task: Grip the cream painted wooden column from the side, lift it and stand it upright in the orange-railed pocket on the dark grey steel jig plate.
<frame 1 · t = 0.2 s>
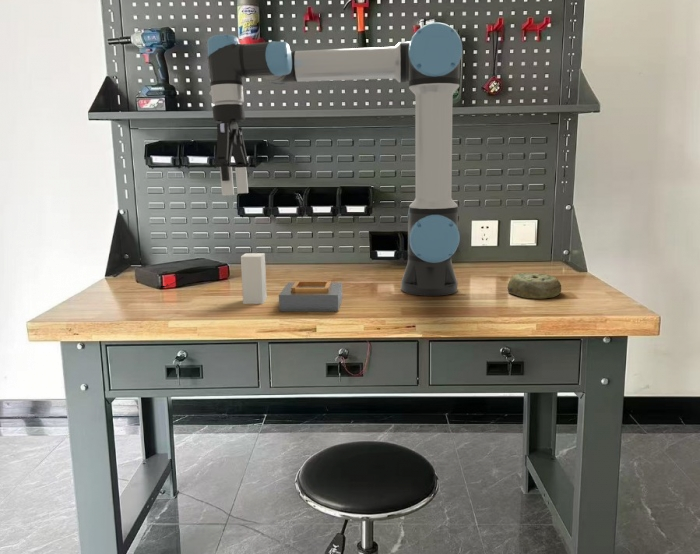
hand: (235, 194, 146), 27 cm above the table, tool pointing down, fingers open, 13 cm apart
column: (255, 301, 152), on the table
jig plate: (312, 304, 148), on the table
weight: (533, 295, 157), on the table
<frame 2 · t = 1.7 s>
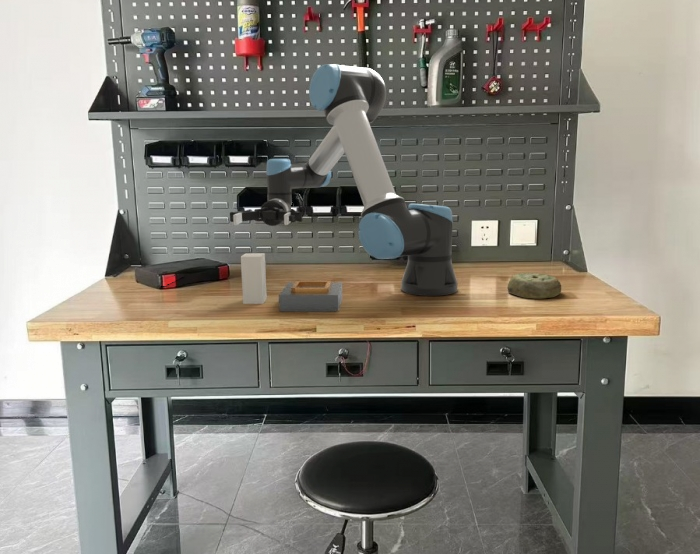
hand: (260, 220, 158), 20 cm above the table, tool horizontal, fingers open, 13 cm apart
nothing on the table moved.
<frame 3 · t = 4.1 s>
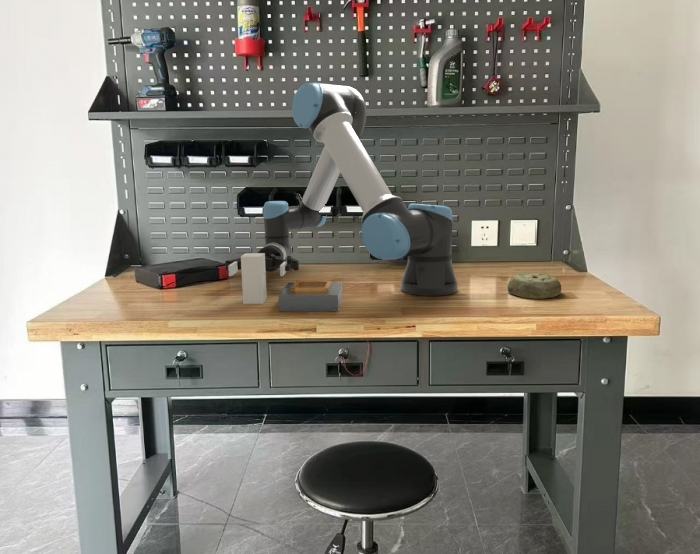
hand: (255, 270, 155), 7 cm above the table, tool horizontal, fingers open, 13 cm apart
nothing on the table moved.
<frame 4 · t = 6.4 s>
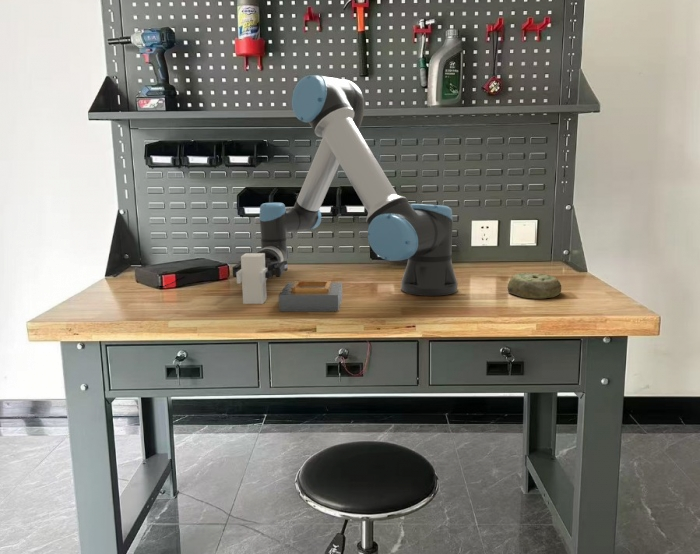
hand: (249, 278, 146), 7 cm above the table, tool horizontal, fingers closed on column, 5 cm apart
column: (255, 301, 152), on the table, touching gripper
everything else where it was.
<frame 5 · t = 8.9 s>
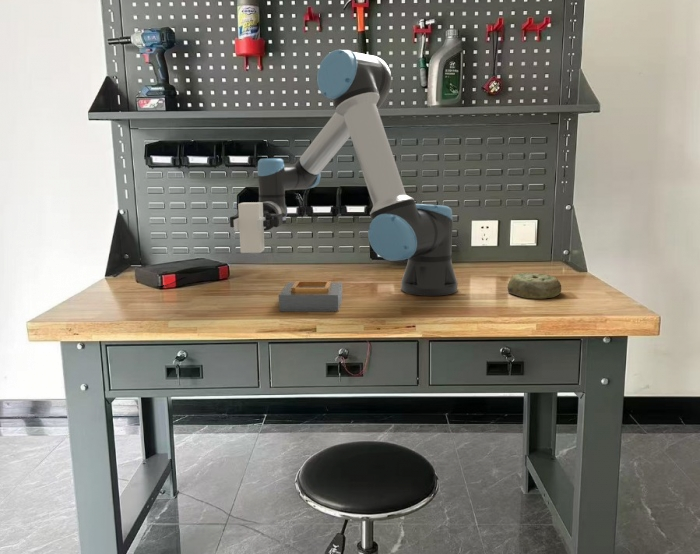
hand: (247, 225, 143), 20 cm above the table, tool horizontal, fingers closed on column, 5 cm apart
column: (252, 251, 149), point 13 cm above the table, touching gripper
everything else where it was.
when the fingers open (12 cm above the table, at t = 11.8 s): column drops 1 cm, resting on jig plate.
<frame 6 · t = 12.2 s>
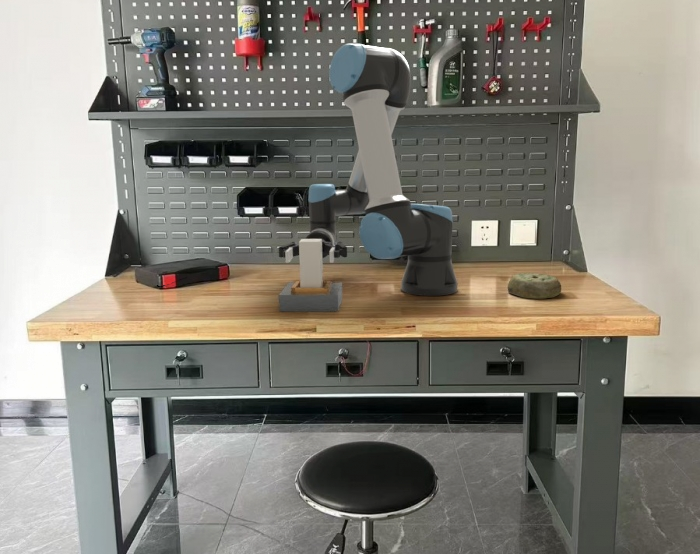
hand: (309, 257, 142), 12 cm above the table, tool horizontal, fingers open, 10 cm apart
column: (311, 288, 147), point 4 cm above the table, touching jig plate
everything else where it was.
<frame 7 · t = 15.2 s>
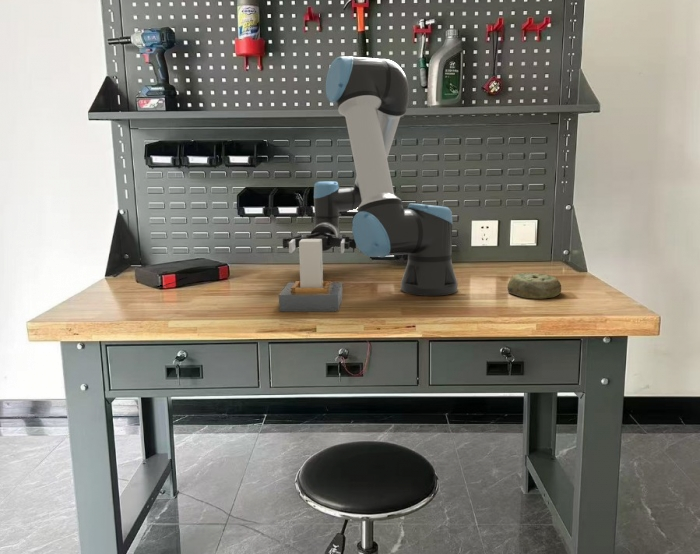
hand: (316, 247, 156), 12 cm above the table, tool horizontal, fingers open, 13 cm apart
nothing on the table moved.
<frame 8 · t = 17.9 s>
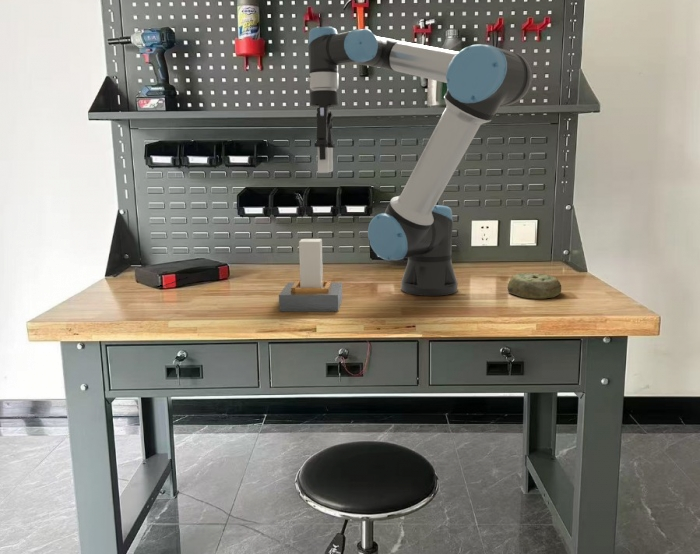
hand: (325, 172, 162), 32 cm above the table, tool pointing down, fingers open, 13 cm apart
nothing on the table moved.
at the end: column 0.1 cm off-centre on the jig plate, point 4.0 cm above the jig plate's base; column tilted 0°; the gripper is holding nothing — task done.
